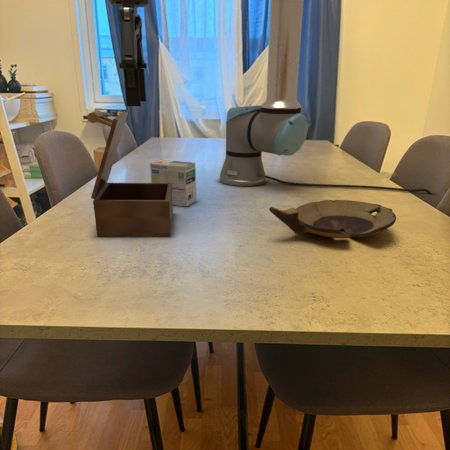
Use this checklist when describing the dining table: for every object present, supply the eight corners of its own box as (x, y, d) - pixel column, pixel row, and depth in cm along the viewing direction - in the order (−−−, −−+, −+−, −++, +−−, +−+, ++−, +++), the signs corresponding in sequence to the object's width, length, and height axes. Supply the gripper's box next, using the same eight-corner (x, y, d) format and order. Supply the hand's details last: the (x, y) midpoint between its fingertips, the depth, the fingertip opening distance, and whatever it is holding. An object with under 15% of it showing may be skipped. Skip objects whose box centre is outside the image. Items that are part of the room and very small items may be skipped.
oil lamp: (411, 251, 90) (420, 215, 87) (269, 249, 89) (272, 213, 86) (375, 219, 110) (381, 188, 107) (258, 217, 109) (260, 186, 105)
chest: (172, 214, 109) (171, 182, 106) (170, 236, 95) (169, 201, 91) (109, 214, 108) (106, 182, 105) (97, 237, 93) (92, 200, 90)
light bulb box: (196, 201, 121) (196, 161, 116) (187, 207, 115) (186, 166, 110) (162, 197, 124) (160, 158, 119) (151, 203, 118) (149, 162, 113)
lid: (128, 112, 98) (100, 100, 96) (117, 120, 83) (85, 106, 81) (107, 181, 104) (81, 171, 103) (94, 199, 90) (64, 188, 88)
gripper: (116, -10, 92) (126, 99, 102) (95, -34, 70) (110, 108, 80) (152, -9, 93) (158, 99, 103) (142, -32, 71) (150, 108, 81)
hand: (137, 103), depth 92 cm, fingers open, 13 cm apart
